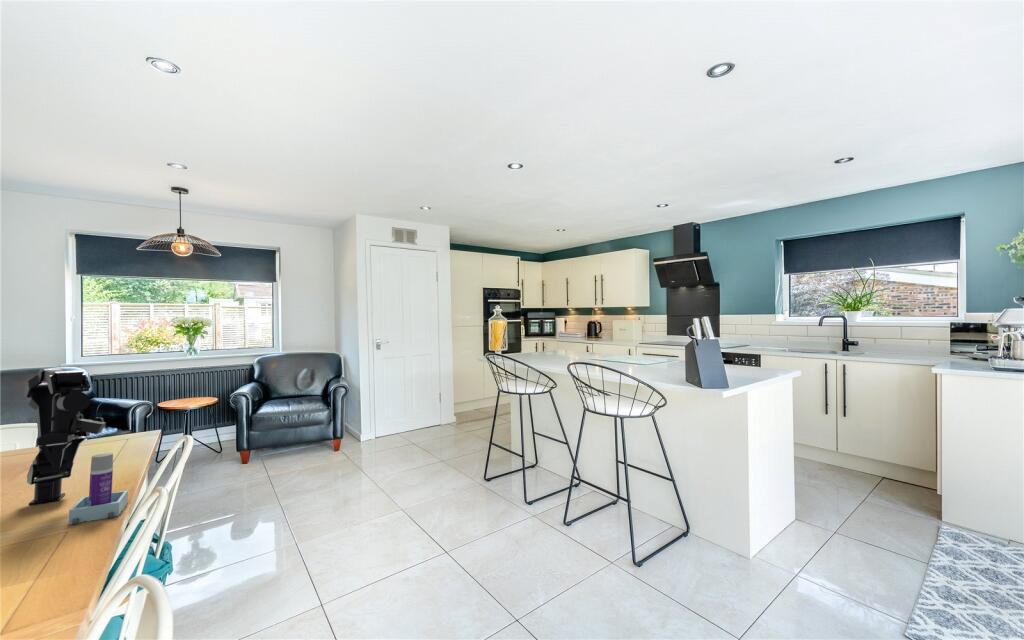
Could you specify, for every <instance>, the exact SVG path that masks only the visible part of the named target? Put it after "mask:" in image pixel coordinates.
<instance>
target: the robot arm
mask: <svg viewBox="0 0 1024 640" xmlns="http://www.w3.org/2000/svg"><path fill="white" fill-rule="evenodd" d="M90 389H91V383H90V379H89V378H88V376H87V374H86V373H84V371H83V370H79V369H75V370H64V369H62V368H43V369H39V371H38V373H37V375H35V376H33V377H32V378H30V379H29V380H27V382H26V384H25V388H24V398H25V399H27V404H28V406H29V407H30V408H32V409H34V411H35V412H36V413H35V414H36V415H35V417H36V425H37V427H36V428H37V437H38V438H36V444H35V445H36V447H38V450H39V452H38V453H37V455H36V456H35V457H34V459H33V460H32V464H30V466H29V469H28V472H27V474H26V483H27V484H28V485H31V486H32V485H34V490H33V491H34V492H33V493H34V495H33V499H32V500H31V501H30V502H28V505H31V506H32V505H35V504H37V505H38V504H43V503H49V502H55V501H56V502H57V501H60V500H61V499H62V498H63V497H65V496H66V493H65V492H64V493H62V483H63V479H65V478H67V479H69V478H70V477H71V475H72V469H73V466H74V461H75V459H76V458H75V457H76V455H77V453H78V450H79V447H80V445H81V444H82V443H83V442H85V440H87V439H88V437H90V436H91V435H93V434H94V435H99V434H101V433H102V432H103V429H104V428H105V427H106V423H107V422H105V421H104V420H105V419H104V418H103V417H99V416H97V417H95V418H93V419H87V418H86V419H85V418H84V414H82V413H81V412H82V411H84V410H86V409H87V408H88V407H89V406H90V405H91V398H90V396H89V395H88V394H87V393H85V392H89V391H90Z"/></svg>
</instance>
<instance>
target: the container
mask: <svg viewBox="0 0 1024 640" xmlns="http://www.w3.org/2000/svg"><path fill="white" fill-rule="evenodd" d="M113 472H114V453H113V452H108V453H107V452H105V453H100V454H94V455H92V456H91V462H90V471H89V489H88V490H89V491H88V493H89V494H88V496H89V506H95V505H101V504H108V503H111V495H112V493H113V476H114V475H113V474H114V473H113ZM89 506H88V507H89Z"/></svg>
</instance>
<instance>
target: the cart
mask: <svg viewBox="0 0 1024 640" xmlns="http://www.w3.org/2000/svg"><path fill="white" fill-rule="evenodd" d="M128 499H129V490H121V491H115V492H113V491H112V495H111V503H108V504H101V505H95V506H89V495H87V496H82V497H81V498H80V499H79V500H78V501H77V502H76V503H75V504H74V505H72V507H71V508H70V509H69V510H68V526H70V525H72V526H73V525H79V524H80V523H79V522H81V523H84V522H83V521H87V522H93V521H99V520H103V519H113V518H115V516H116V517H119V516H120V515H119V514H121V513H122V512H121V511H124V509H125V507H126V505H128V501H129V500H128ZM88 506H89V507H88ZM92 520H93V521H92ZM69 524H70V525H69Z"/></svg>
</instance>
